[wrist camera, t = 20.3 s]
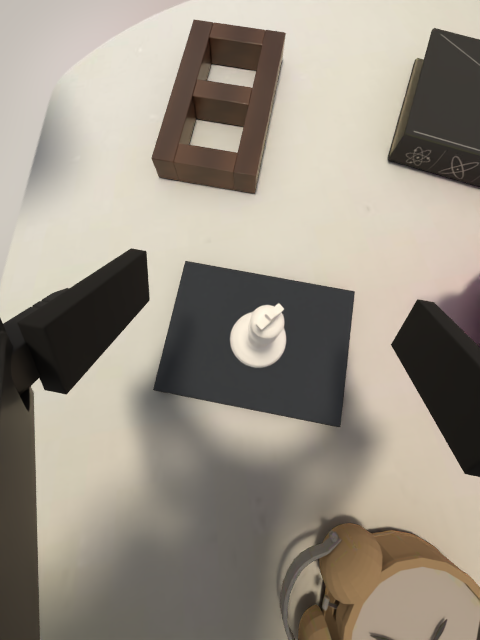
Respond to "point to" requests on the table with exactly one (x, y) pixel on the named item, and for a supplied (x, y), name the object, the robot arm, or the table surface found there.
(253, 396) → the mat
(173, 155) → the holder
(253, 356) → the chess piece
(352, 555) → the alarm clock
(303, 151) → the table surface
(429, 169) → the book
